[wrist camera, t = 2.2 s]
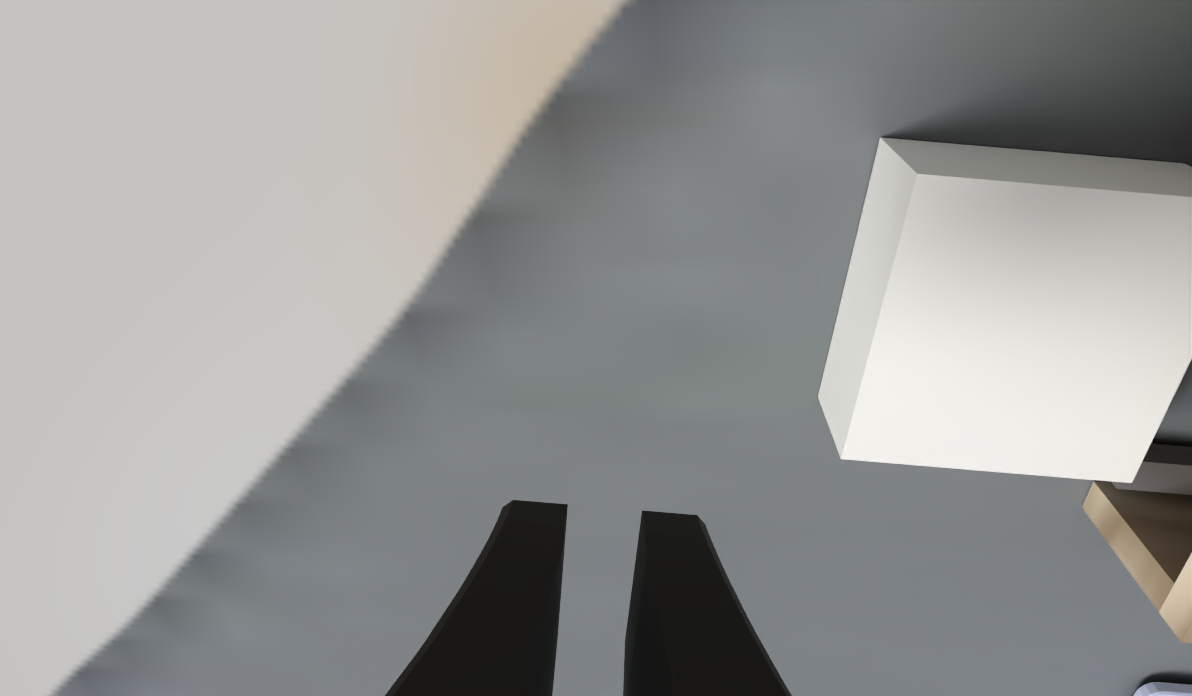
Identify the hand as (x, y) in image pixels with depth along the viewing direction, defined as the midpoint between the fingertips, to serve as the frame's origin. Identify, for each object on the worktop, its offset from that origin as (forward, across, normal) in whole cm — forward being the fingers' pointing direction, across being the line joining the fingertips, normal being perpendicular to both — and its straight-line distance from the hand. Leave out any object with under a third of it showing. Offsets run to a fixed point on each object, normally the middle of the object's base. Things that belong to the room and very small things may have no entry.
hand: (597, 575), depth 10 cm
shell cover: (+9, -8, 0) cm, 12 cm away
